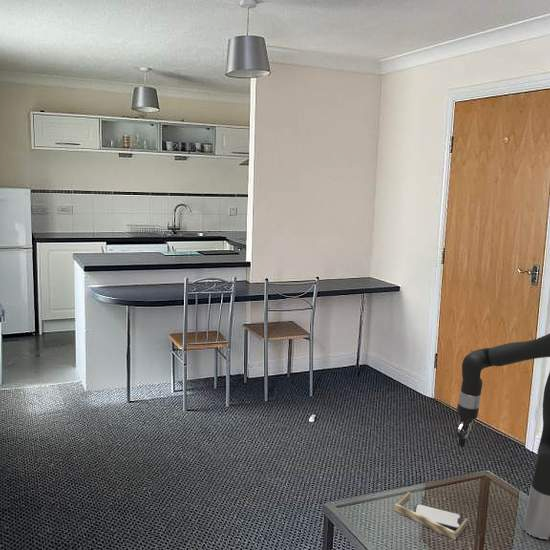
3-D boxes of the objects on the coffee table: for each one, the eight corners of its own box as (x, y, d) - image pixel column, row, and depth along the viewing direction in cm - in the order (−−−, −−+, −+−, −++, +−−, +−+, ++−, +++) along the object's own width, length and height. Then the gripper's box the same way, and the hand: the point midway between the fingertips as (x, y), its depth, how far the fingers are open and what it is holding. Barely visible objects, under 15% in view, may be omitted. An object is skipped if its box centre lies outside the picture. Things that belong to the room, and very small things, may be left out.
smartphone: (412, 520, 213) (459, 533, 208) (413, 516, 212) (460, 528, 208) (415, 506, 221) (460, 518, 216) (416, 502, 221) (461, 514, 216)
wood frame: (466, 525, 212) (468, 518, 211) (455, 540, 203) (456, 534, 203) (407, 497, 225) (408, 491, 224) (394, 510, 217) (395, 504, 216)
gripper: (472, 412, 213) (464, 456, 217) (485, 401, 223) (477, 443, 227) (452, 405, 217) (445, 448, 221) (465, 394, 227) (458, 435, 232)
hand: (461, 445), depth 224 cm, fingers closed
